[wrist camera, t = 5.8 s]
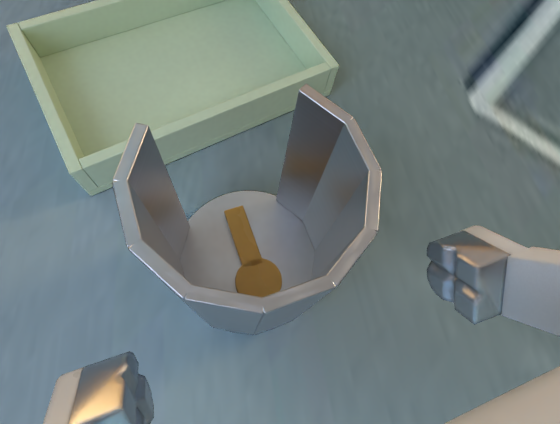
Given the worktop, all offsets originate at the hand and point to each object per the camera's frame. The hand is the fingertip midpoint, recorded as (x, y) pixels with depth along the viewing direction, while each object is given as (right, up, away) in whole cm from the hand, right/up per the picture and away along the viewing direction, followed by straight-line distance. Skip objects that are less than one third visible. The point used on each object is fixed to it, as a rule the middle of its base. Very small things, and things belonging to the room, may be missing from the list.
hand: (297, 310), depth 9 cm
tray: (-6, +11, +13) cm, 18 cm away
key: (-2, 0, +8) cm, 8 cm away
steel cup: (-2, 0, +9) cm, 9 cm away
